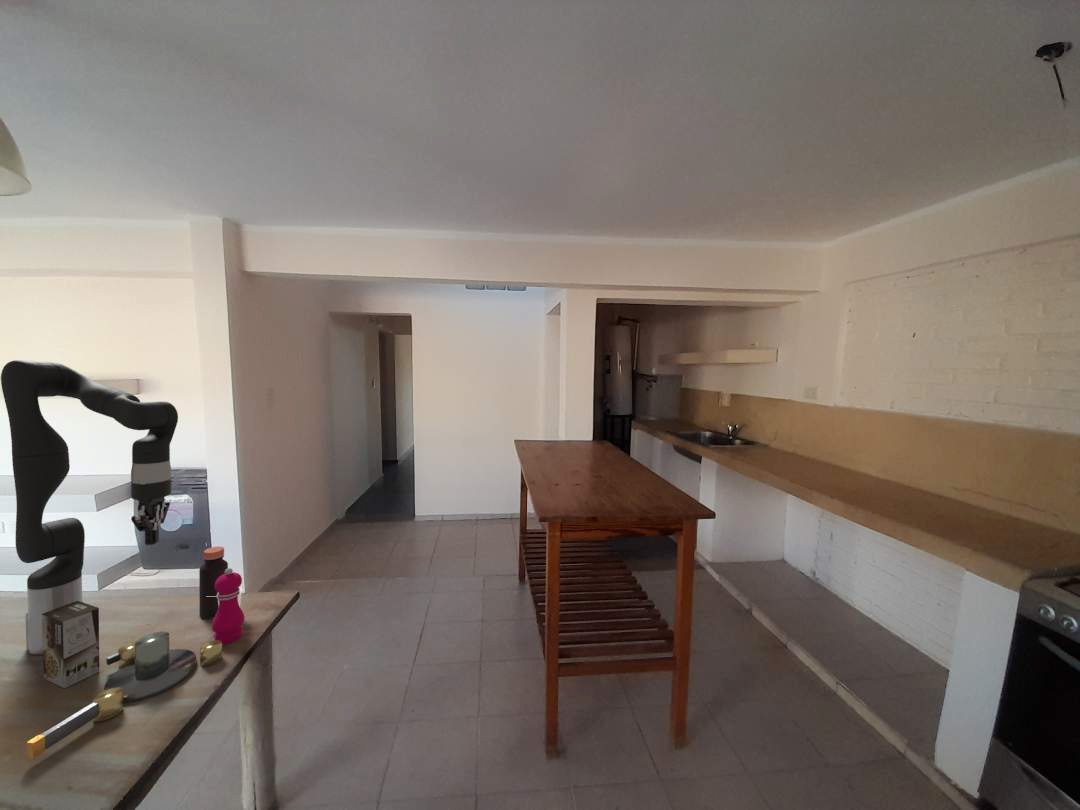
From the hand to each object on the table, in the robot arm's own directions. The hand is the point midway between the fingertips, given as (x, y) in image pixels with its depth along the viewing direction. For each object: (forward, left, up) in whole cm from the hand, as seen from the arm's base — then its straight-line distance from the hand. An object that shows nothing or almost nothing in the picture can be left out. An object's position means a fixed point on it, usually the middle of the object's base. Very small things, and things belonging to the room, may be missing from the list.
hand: (151, 543), depth 105 cm
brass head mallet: (+11, -24, -29) cm, 39 cm away
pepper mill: (+15, +7, -29) cm, 33 cm away
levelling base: (+9, -7, -29) cm, 31 cm away
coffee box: (-9, -11, -29) cm, 32 cm away
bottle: (+1, +17, -29) cm, 34 cm away
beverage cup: (+9, +14, -29) cm, 34 cm away
